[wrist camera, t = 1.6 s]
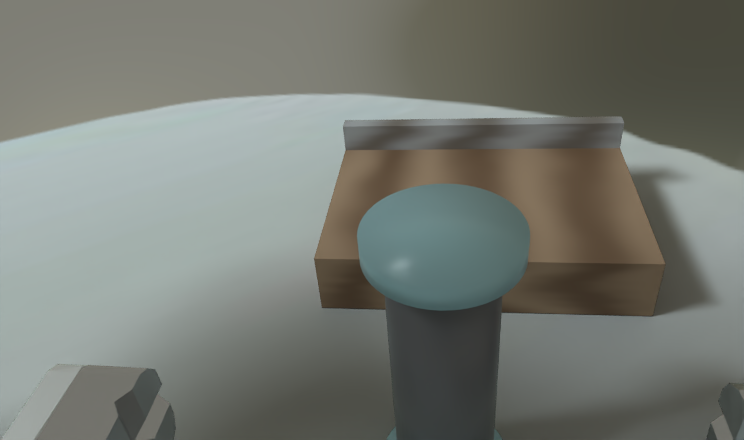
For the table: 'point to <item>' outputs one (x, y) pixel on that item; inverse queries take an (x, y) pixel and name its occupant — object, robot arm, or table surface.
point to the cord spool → (444, 302)
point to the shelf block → (520, 187)
